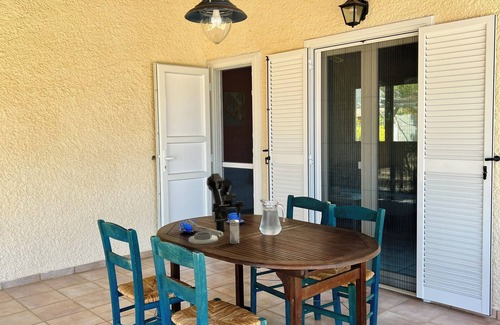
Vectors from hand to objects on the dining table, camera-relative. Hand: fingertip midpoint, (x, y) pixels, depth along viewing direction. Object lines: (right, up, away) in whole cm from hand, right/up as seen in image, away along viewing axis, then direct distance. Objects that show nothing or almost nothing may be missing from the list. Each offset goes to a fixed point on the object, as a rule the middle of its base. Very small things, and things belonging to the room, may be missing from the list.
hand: (230, 218), depth 270 cm
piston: (+3, -13, -6) cm, 15 cm away
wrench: (-18, -13, +18) cm, 28 cm away
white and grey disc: (-16, -13, +2) cm, 21 cm away
